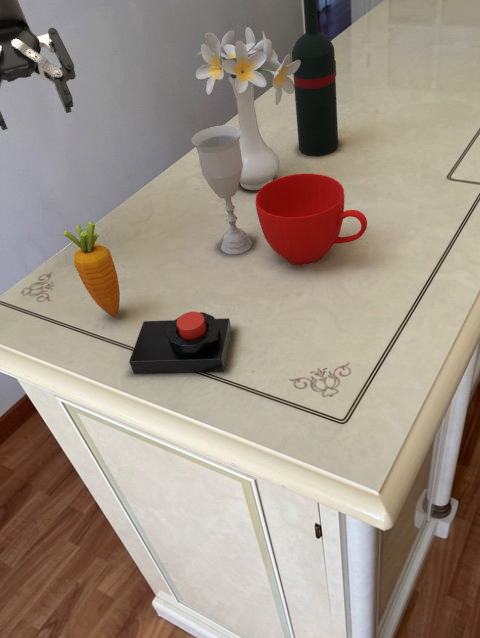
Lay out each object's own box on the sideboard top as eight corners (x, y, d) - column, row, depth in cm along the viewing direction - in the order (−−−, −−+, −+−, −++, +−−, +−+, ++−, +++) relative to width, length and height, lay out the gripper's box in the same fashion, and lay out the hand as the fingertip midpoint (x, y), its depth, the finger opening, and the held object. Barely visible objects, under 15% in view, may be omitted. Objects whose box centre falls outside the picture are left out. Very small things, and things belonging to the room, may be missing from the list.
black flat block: (133, 373, 76) (124, 351, 74) (147, 333, 82) (139, 310, 79) (224, 371, 75) (218, 348, 72) (232, 330, 80) (227, 307, 78)
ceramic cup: (348, 291, 84) (346, 230, 77) (248, 267, 91) (238, 208, 84) (383, 244, 91) (384, 184, 84) (288, 224, 98) (282, 167, 91)
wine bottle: (350, 137, 119) (346, -40, 98) (326, 158, 114) (317, -24, 93) (316, 132, 123) (306, -40, 102) (291, 153, 117) (275, -25, 96)
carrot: (92, 325, 84) (52, 234, 74) (107, 303, 88) (71, 214, 77) (123, 328, 83) (87, 236, 73) (137, 306, 87) (105, 215, 76)
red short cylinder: (176, 340, 75) (173, 330, 73) (182, 322, 77) (179, 311, 76) (204, 339, 74) (201, 329, 73) (208, 321, 77) (206, 310, 75)
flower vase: (291, 205, 102) (276, 49, 85) (201, 193, 109) (169, 46, 92) (319, 171, 110) (310, 21, 93) (233, 161, 117) (210, 20, 99)
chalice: (241, 228, 99) (222, 121, 86) (267, 242, 95) (251, 132, 82) (206, 247, 96) (181, 139, 83) (231, 263, 92) (209, 152, 79)
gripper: (-80, -6, 72) (-26, 118, 72) (37, -30, 75) (87, 89, 76) (-60, 33, 79) (-12, 146, 79) (45, 10, 82) (91, 117, 83)
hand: (36, 118), depth 77 cm, fingers open, 8 cm apart
